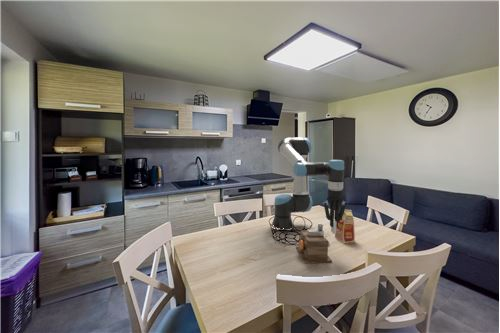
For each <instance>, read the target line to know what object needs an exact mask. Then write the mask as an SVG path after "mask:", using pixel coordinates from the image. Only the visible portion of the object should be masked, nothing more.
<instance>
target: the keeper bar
mask: <svg viewBox="0 0 500 333" xmlns="http://www.w3.org/2000/svg"><path fill="white" fill-rule="evenodd" d="M323 226H324V224H322V223H319V224H317V228H316V229H313V228H312V229H306V230H307V234H308V236H324V237H325V231H324V227H323Z"/></svg>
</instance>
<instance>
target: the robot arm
mask: <svg viewBox="0 0 500 333" xmlns="http://www.w3.org/2000/svg"><path fill="white" fill-rule="evenodd" d="M311 150H312V143H311V141H310V140H309V138H308V137H302V136H299V137H295V136H293V137H290V136H288V137H284V138H282V139H281V140H280V141H279V142H278V144H277V151H278V152H279V154H280V155H282V156H284V157H285V158H286V160H288V162H289V163H290V165H292V166H293V167H292V168H293V175H294V180H293V182H294V191H293V192H292V195H291V194H289V193H283V194H278V195H276V196H275V198H274V202H273V203H274V217H273V221H272V223H271V226H272V225H274V226H275V227H277V228H280V229H283V228H284V229H290V228H293V229H294V222H293V219H292V213H293V214H294V213H295V214H296V213H307V212H310V211H311V209H312V208H313V198H312V196H311V195H310V193H309V192H308V190H307V189H308V188H307V187H308V186H307V184H308V183H307V177H316V176H317V177H318V176H319V177H320V176H321V177H322V176H325V177H327V178H328V179H327V197H326V200H325V201H322V205H323V208H324V212H325V217H326V219H327V220H328V221H329V226H330V231H331V233H332V234H334V235H335V234H336V227H338V222H339V220H342V217H343V214H344V210H345V209H346V207H347V206H348V202H346V201H345V200H344V199H343V198H344V197H343V196H344V190H343V189H344V178H345V161H344V160H343V159H330V160H329V161H328V162H327V161H319V162H317V161H316V162H315V161H314V162H312V161H311V162H308V161H307V157H308V156H309V154H310V153H311Z"/></svg>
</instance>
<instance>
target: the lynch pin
mask: <svg viewBox="0 0 500 333" xmlns="http://www.w3.org/2000/svg"><path fill="white" fill-rule="evenodd" d="M330 245H331V244H330V241H329V240H328V248H330V247H331V246H330ZM298 247H299V248H300V250H304V248H305V242H304V241H303V240H300V239H299V240H298Z"/></svg>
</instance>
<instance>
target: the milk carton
mask: <svg viewBox="0 0 500 333" xmlns="http://www.w3.org/2000/svg"><path fill="white" fill-rule="evenodd" d="M352 211H353V210H352V209H346V208H345V210H344V214H343V217H342V220H339V222H338V227H336V234H334V238H335V239H337V241H338V242H339V241H340V243H342V244H349V242H350V243H354V242H356V240H355V239H356V232H355V221H354V215H353V212H352Z"/></svg>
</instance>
